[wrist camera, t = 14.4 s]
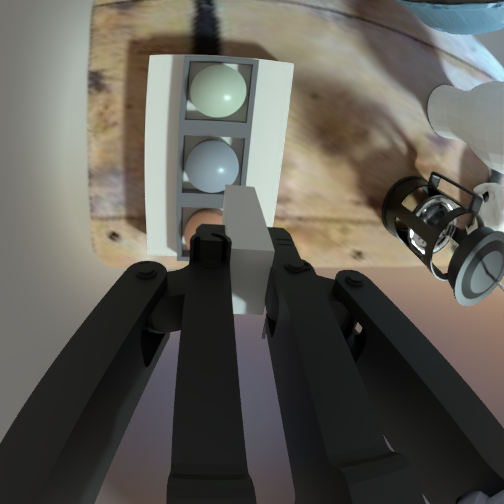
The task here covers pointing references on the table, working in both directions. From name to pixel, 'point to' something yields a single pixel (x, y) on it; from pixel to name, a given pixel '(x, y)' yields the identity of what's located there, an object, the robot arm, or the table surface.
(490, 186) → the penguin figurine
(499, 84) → the cup
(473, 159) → the table surface
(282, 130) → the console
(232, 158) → the button slate
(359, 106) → the table surface
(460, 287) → the french press
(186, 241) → the button terracotta
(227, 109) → the button sage
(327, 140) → the table surface
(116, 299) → the robot arm
